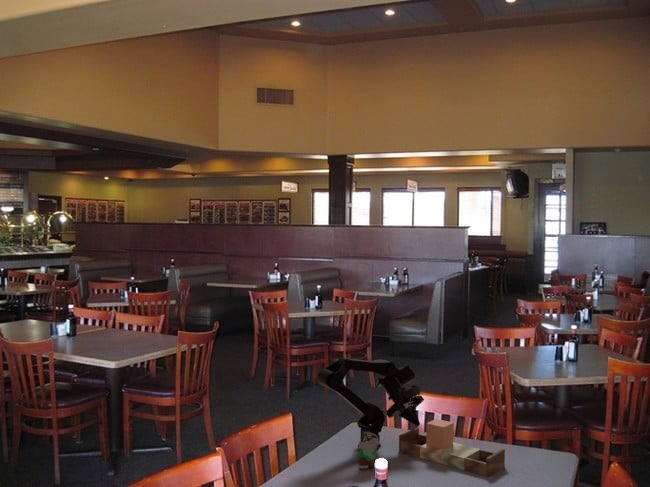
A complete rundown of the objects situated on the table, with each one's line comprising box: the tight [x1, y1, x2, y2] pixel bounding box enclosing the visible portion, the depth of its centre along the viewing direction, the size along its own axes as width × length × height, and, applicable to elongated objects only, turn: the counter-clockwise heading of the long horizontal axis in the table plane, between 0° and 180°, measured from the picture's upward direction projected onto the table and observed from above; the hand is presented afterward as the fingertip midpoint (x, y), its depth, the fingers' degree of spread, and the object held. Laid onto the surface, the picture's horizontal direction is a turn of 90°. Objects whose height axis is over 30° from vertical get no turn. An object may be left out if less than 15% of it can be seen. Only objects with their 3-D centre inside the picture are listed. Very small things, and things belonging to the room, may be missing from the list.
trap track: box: [398, 427, 506, 478], centre depth 228 cm, size 36×12×6 cm, turn 50°
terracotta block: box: [425, 418, 454, 450], centre depth 230 cm, size 7×7×8 cm
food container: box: [358, 432, 379, 471], centre depth 220 cm, size 12×6×10 cm, turn 168°
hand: (418, 425), depth 236 cm, fingers closed
